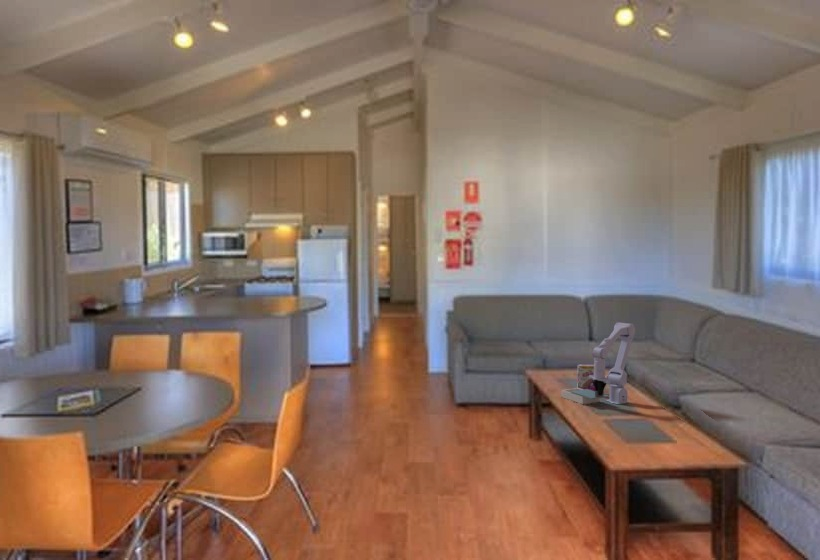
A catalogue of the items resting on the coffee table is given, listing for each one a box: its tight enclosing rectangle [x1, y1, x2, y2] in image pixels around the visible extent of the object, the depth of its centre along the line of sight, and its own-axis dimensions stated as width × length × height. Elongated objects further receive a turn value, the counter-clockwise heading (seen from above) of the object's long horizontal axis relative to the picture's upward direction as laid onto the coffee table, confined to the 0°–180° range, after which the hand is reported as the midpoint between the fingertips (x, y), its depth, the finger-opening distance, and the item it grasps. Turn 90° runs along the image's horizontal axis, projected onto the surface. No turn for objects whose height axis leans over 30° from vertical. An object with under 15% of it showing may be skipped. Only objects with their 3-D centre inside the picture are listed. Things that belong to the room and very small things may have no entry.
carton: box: [561, 387, 601, 406], centre depth 383 cm, size 18×12×4 cm, turn 26°
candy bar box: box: [576, 364, 596, 391], centre depth 400 cm, size 11×5×16 cm, turn 84°
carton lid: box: [570, 389, 609, 399], centre depth 376 cm, size 18×12×4 cm, turn 26°
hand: (599, 394), depth 369 cm, fingers closed on carton lid
